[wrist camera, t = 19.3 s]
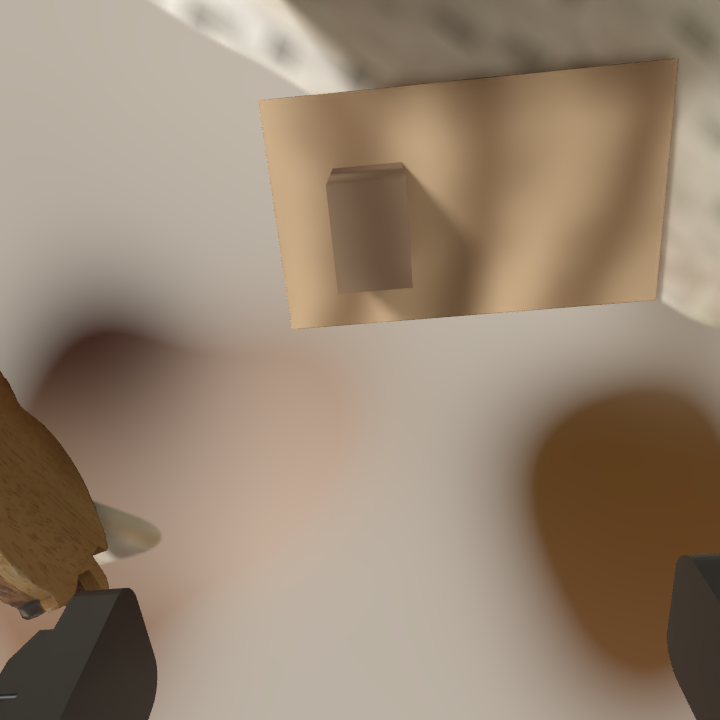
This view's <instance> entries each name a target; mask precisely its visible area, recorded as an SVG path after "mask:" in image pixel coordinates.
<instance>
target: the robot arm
mask: <svg viewBox="0 0 720 720" xmlns="http://www.w3.org/2000/svg"><path fill="white" fill-rule="evenodd" d="M667 644H668V652H669V657H670V661H671V665H672V668H673V671H674V674H675V676H676V679H677V681H678V683H679V685H680V687H681V689H682V691H683V693H684V695H685V697H686V699H687V701H688V703H689V705H690V707H691V709H692V712H693V714H694V716H695V718H696V720H720V553H713V554H712V553H711V554H695V555H682V556H681V557H679V559H678V561H677V563H676V569H675V578H674V585H673V592H672V600H671V607H670V615H669V623H668V630H667ZM156 688H157V665H156V660H155V656H154V653H153V650H152V646H151V643H150V640H149V636H148V633H147V630H146V627H145V623H144V620H143V617H142V614H141V611H140V607H139V604H138V601H137V598H136V595H135V593H134V592H133V590H131V589H130V588H120V589H102V590H86V591H79V592H77V593H76V594H74V596H73V597H72V598H71V600H70V601H69V603H68V605H67V606H66V608H65V610H64V612H63V614H62V616H61V617H60V619H59V621H58V623H57V624H56V626H55V628H54V629H51V630H39V632H37V633H36V634H35V635H34V636H33V637H32V638H31V639H30V640H29V641H28V642H27V643H26V644H25V645H24V646H23V647H22V648H21V649H20V650H19V651H18V652H17V653H15V654H14V655H13V657H11V658H10V659H9V660H8V662H7V663H6V665H5V667H4V668H3V670H2V672H1V673H0V720H148V719H149V716H150V713H151V710H152V707H153V703H154V700H155V694H156Z"/></svg>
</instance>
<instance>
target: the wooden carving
mask: <svg viewBox="0 0 720 720" xmlns="http://www.w3.org/2000/svg"><path fill="white" fill-rule="evenodd" d="M107 548H108V545H107V541H106V537H105V533H104V530H103V528H102V525H101V522H100V520H99V517H98V515H97V512H96V509H95V506H94V504H93V501H92V499H91V497H90V494H89V492H88V490H87V487H86V485H85V483H84V481H83V479H82V477H81V476H80V474H79V472H78V470H77V468H76V467H75V465H74V463H73V462H72V460H71V458H70V457H69V456H68V454H67V453H66V451H65V450H64V448H63V447H62V446H61V444H60V443H59V442H58V441H57V439H56V438H55V437H54V436H53V435H52V433H51V432H50V431H49V430H48V429H47V428H46V427H45V426H44V425H43V424H42V423H41V422H39V421H38V420H37V419H36V418H34V417H33V416H31V415H30V414H29V413H28V412H27V411H25V410H24V409H23V408H22V407H21V406H20V404H19V403H18V402H17V399H16V397H15V394H14V392H13V391H12V389H11V386H10V384H9V383H8V381H7V379H6V378H4V376H3V374H2V373H1V372H0V600H1V601H2V602H3V603H6V604H9V605H11V606H12V607H15V608H17V609H18V610H19V611H20V614H21V616H22V618H24V619H26V620H30V619H32V618H35V617H38V616H39V615H41V614H43V613H44V612H46V611H47V612H51V611H54V610H56V609H58V608H61V607H62V606H67V605H68V603H69V601H70V600H71V598H72V597H73V596H74V594H76V593H77V592H79V591H86V590H102V589H109V586H108V581H107V578H106V575H105V574H104V573H103V571H102V569H101V568H100V566H99V565H98V563H97V562H96V561H95V559H94V558H93V555H96V554H98V553H101V552H104V551H107Z"/></svg>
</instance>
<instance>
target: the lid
mask: <svg viewBox="0 0 720 720" xmlns="http://www.w3.org/2000/svg"><path fill="white" fill-rule="evenodd" d="M678 60H679V59H665V60H655V61H645V62H635V63H625V64H616V65H606V66H596V67H586V68H576V69H566V70H556V71H546V72H536V73H526V74H516V75H507V76H497V77H487V78H477V79H467V80H457V81H447V82H437V83H427V84H417V85H408V86H398V87H388V88H378V89H368V90H358V91H348V92H338V93H328V94H318V95H305V96H295V97H285V98H275V99H266V100H260V101H258V102H259V108H260V115H261V122H262V129H263V136H264V143H265V148H266V156H267V163H268V170H269V176H270V183H271V190H272V197H273V204H274V211H275V217H276V224H277V231H278V238H279V245H280V252H281V258H282V265H283V272H284V279H285V285H286V292H287V299H288V306H289V313H290V320H291V326H292V329H301V328H315V327H327V326H340V325H352V324H364V323H377V322H390V321H402V320H415V319H427V318H439V317H452V316H464V315H477V314H490V313H501V312H515V311H525V310H540V309H550V308H551V309H552V308H565V307H576V306H589V305H602V304H615V303H626V302H639V301H652V300H656V291H657V280H658V270H659V259H660V249H661V238H662V228H663V217H664V207H665V196H666V186H667V175H668V165H669V154H670V144H671V133H672V123H673V112H674V102H675V91H676V81H677V70H678Z"/></svg>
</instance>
